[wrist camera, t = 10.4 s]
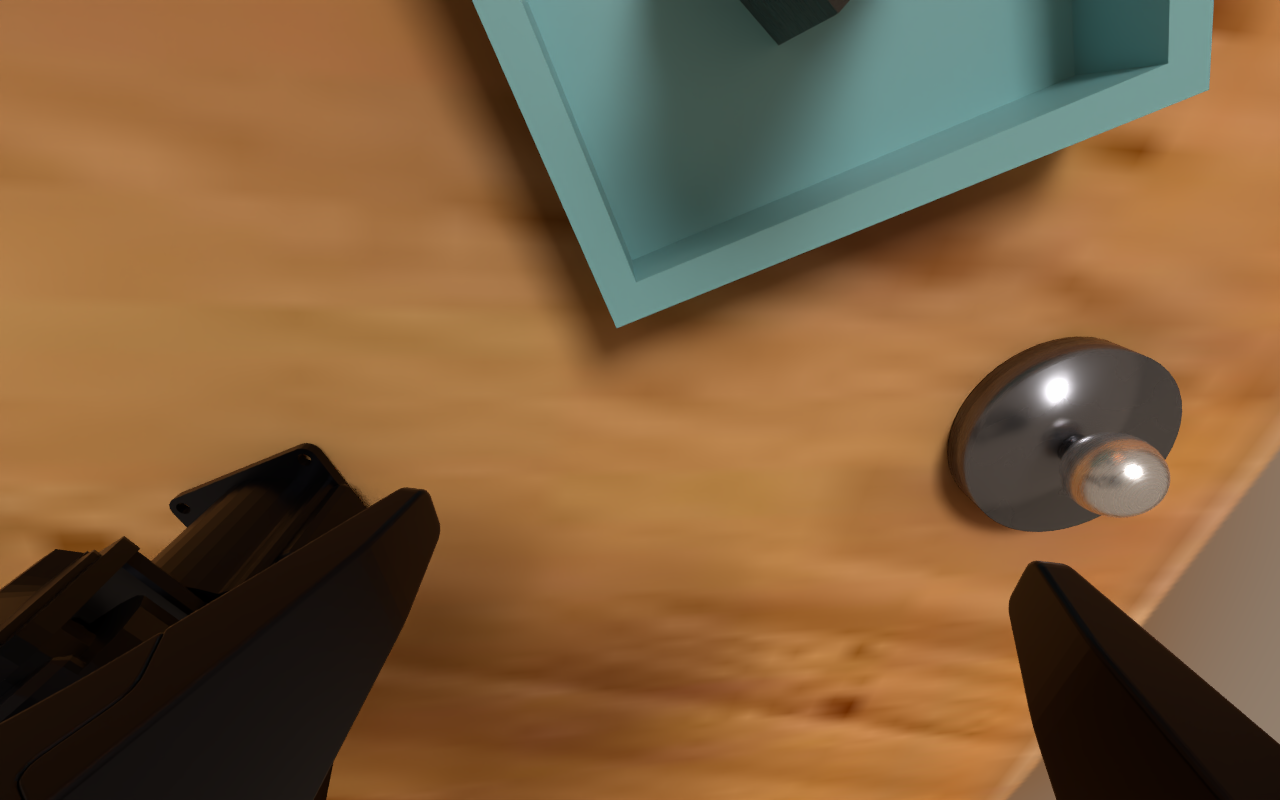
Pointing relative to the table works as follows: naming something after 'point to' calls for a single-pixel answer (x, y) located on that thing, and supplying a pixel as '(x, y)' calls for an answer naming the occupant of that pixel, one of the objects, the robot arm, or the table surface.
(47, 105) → the table surface
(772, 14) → the strut
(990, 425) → the stud plate
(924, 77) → the bin
